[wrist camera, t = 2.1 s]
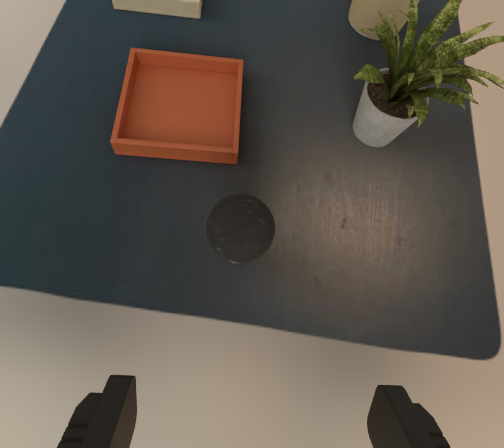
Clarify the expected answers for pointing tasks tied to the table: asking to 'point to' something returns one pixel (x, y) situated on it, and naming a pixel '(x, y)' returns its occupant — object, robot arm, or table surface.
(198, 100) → the terracotta tray
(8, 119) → the table surface
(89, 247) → the table surface
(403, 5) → the coffee cup
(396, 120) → the house plant
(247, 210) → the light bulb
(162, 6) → the cream tray
